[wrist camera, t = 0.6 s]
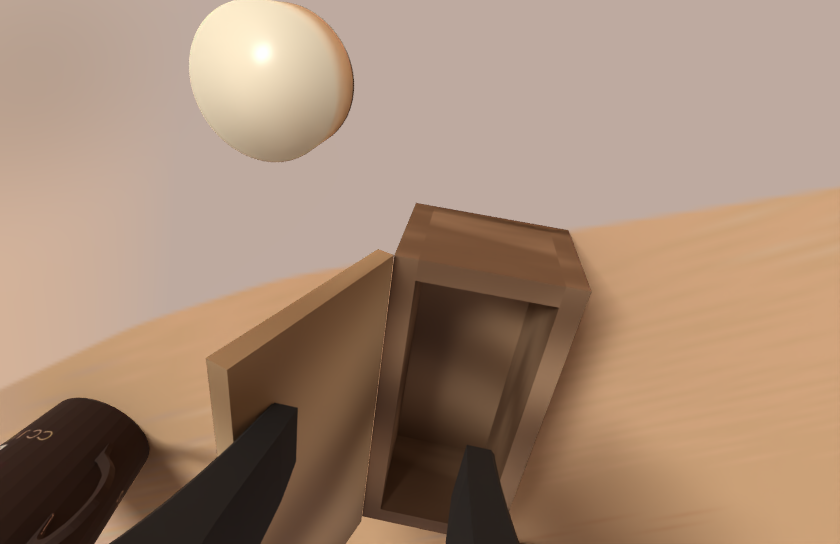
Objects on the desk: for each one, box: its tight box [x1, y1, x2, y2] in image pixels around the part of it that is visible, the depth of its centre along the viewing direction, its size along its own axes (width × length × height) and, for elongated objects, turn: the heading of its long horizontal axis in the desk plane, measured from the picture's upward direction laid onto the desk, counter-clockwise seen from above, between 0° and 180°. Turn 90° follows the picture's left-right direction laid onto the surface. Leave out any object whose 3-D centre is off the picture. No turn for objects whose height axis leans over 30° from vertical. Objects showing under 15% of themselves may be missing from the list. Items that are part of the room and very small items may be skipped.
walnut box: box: [362, 203, 591, 534], centre depth 20 cm, size 14×6×5 cm, turn 172°
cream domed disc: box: [189, 0, 354, 162], centre depth 17 cm, size 5×5×2 cm
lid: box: [206, 249, 394, 544], centre depth 16 cm, size 14×7×1 cm
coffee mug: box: [0, 398, 149, 544], centre depth 25 cm, size 12×9×10 cm
